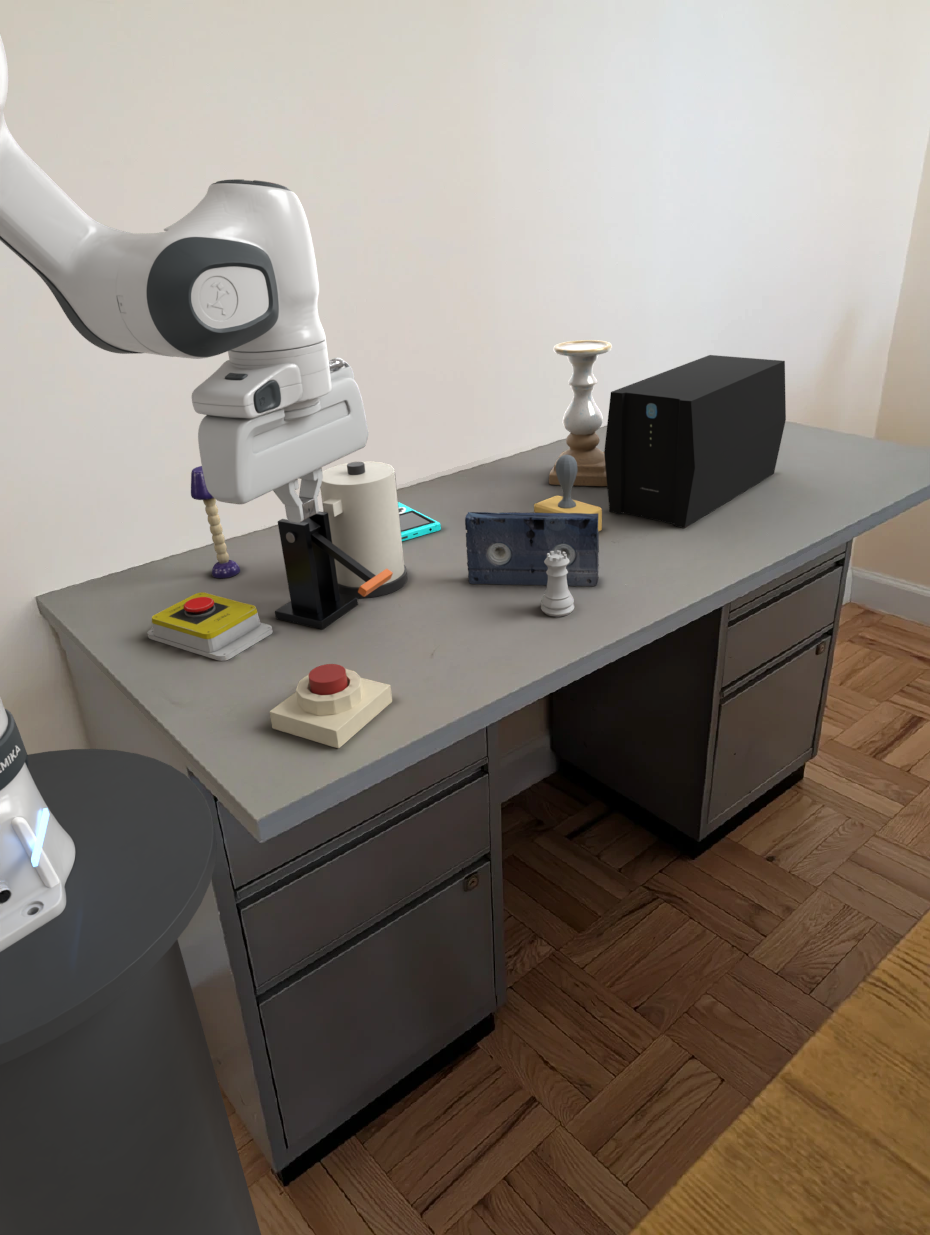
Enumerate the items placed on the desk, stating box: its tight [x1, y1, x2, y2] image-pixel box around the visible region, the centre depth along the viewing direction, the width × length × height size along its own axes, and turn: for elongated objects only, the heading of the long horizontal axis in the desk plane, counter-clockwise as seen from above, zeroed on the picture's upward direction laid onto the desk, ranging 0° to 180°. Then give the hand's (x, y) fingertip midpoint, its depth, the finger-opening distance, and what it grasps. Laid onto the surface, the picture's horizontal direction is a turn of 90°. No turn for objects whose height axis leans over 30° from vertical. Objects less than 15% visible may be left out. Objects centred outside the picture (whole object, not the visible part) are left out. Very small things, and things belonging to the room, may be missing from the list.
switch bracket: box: [274, 510, 359, 630], centre depth 119 cm, size 8×8×14 cm
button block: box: [269, 668, 393, 749], centre depth 98 cm, size 10×9×4 cm
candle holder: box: [548, 339, 613, 487], centre depth 162 cm, size 11×11×24 cm
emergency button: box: [146, 591, 274, 662], centre depth 117 cm, size 9×4×15 cm
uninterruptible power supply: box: [603, 354, 787, 529], centre depth 152 cm, size 16×34×20 cm, turn 138°
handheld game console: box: [398, 501, 442, 542], centre depth 150 cm, size 10×16×1 cm, turn 33°
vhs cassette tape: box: [464, 511, 600, 587], centre depth 124 cm, size 18×3×10 cm, turn 78°
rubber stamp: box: [533, 455, 603, 532], centre depth 142 cm, size 10×6×12 cm, turn 41°
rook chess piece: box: [540, 551, 575, 618], centre depth 116 cm, size 4×4×8 cm
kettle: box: [319, 460, 408, 599], centre depth 126 cm, size 14×11×18 cm
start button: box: [308, 663, 348, 695], centre depth 97 cm, size 4×4×2 cm
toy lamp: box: [190, 465, 241, 579], centre depth 133 cm, size 5×5×17 cm
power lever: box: [302, 518, 393, 597], centre depth 116 cm, size 14×6×2 cm, turn 60°
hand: (303, 517), depth 88 cm, fingers closed
